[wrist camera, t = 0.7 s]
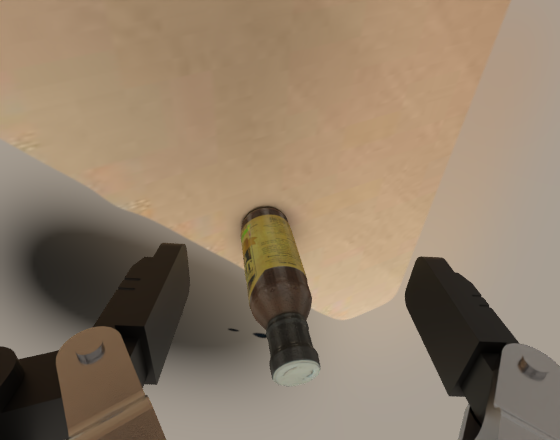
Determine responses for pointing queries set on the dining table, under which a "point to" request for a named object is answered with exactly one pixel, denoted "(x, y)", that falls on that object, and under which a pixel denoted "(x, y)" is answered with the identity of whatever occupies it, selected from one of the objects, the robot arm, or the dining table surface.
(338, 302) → the dining table surface
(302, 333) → the sauce bottle
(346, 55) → the dining table surface
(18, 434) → the robot arm
